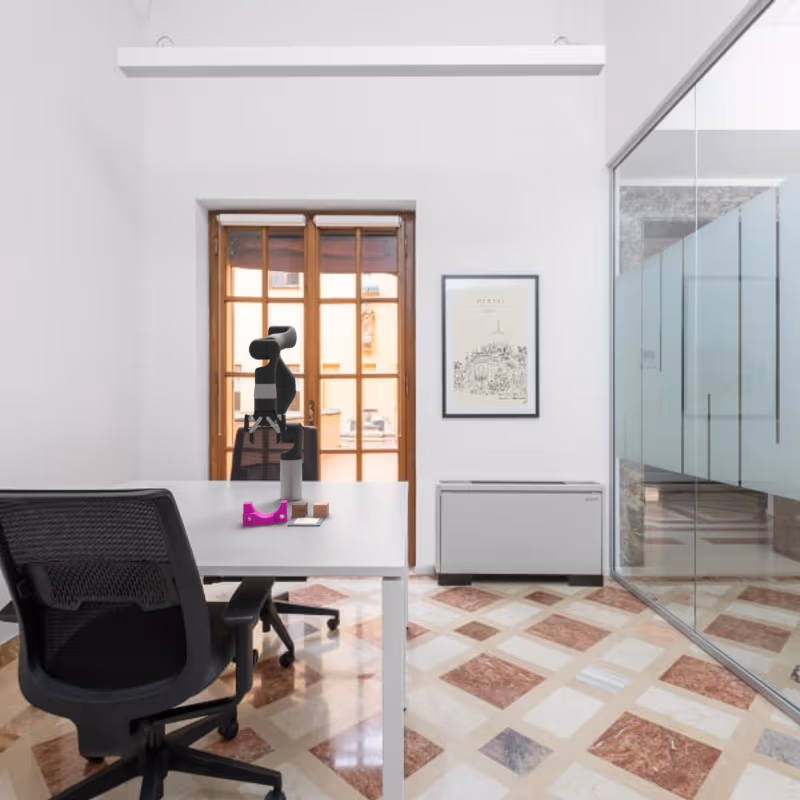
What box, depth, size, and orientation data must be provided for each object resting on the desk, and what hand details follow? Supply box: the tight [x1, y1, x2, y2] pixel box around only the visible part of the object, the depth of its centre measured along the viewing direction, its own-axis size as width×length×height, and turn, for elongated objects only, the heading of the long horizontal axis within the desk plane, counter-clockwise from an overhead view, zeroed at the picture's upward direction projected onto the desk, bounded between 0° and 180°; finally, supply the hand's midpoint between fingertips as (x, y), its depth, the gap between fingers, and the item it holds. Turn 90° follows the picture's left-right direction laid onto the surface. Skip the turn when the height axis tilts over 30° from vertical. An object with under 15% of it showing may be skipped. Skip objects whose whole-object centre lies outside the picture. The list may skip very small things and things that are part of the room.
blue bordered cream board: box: [287, 516, 326, 527], centre depth 188 cm, size 11×11×1 cm
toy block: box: [242, 500, 288, 527], centre depth 188 cm, size 15×6×8 cm, turn 102°
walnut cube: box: [291, 501, 309, 518], centre depth 198 cm, size 5×5×5 cm
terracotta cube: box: [312, 501, 330, 518], centre depth 198 cm, size 5×5×5 cm
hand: (265, 443), depth 185 cm, fingers open, 8 cm apart
